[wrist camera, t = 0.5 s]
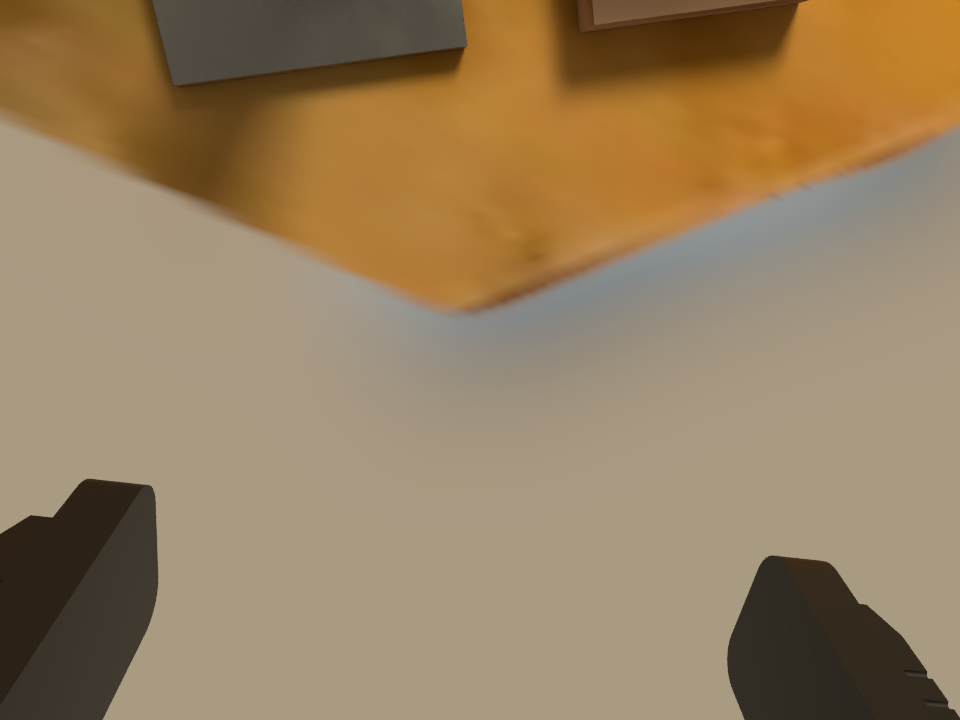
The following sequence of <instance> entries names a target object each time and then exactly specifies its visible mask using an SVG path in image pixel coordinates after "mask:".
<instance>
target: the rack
mask: <svg viewBox="0 0 960 720" xmlns="http://www.w3.org/2000/svg"><path fill="white" fill-rule="evenodd" d="M804 1H807V0H576V5H577V16H578V28H579V33H582V32H590V31H597V30H604V29H612V28H619V27H626V26H634V25H641V24H648V23H656V22H663V21H670V20H678V19H685V18H693V17H700V16H707V15H715V14H722V13H729V12H737V11H744V10H751V9H759V8H766V7H773V6H781V5H788V4H796V3H801V2H804Z"/></svg>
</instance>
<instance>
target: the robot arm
mask: <svg viewBox="0 0 960 720" xmlns="http://www.w3.org/2000/svg"><path fill="white" fill-rule="evenodd" d="M157 589H158V561H157V530H156V502H155V494H154V491H153V488H152V487H151V486H149V485H141V484H132V483H123V482H114V481H105V480H96V479H86V480H84V481H82V482H81V483H80V484H79V485H78V486H77V488H76V489H75V490H74V491H73V493H72V494H71V495H70V497H69V498H68V499H67V500H66V502H65V503H64V504H63V505H62V507H61V508H60V509H59V510H58V512H57V513H56V514H55V515H54V517H53V518H51V517H41V516H32V515H30V516H29V517H27V518H26V519H24V520H22V521H21V522H19V523H18V524H16V525H15V526H13V527H11V528H9V529H8V530H6V531H4V532H3V533H1V534H0V720H102V719H103V718H104V716H105V714H106V711H107V710H108V707H109V705H110V703H111V701H112V699H113V697H114V695H115V693H116V691H117V689H118V687H119V685H120V683H121V681H122V679H123V677H124V675H125V673H126V671H127V669H128V667H129V665H130V663H131V661H132V659H133V657H134V655H135V653H136V651H137V649H138V647H139V645H140V643H141V641H142V639H143V637H144V635H145V633H146V631H147V628H148V626H149V623H150V620H151V617H152V613H153V610H154V606H155V602H156V596H157ZM727 661H728V674H729V679H730V683H731V687H732V689H733V692H734V694H735V697H736V699H737V702H738V704H739V707H740V709H741V712H742V714H743V716H744V719H745V720H960V717H959V716H958V715H957V713H956V712H955V710H953V709H949V707H948V700H947V699H946V698H945V696H944V695H943V693H942V692H941V690H940V689H939V688H938V686H937V685H936V683H935V682H934V681H933V679H928V678H927V671H926V669H925V668H924V666H923V665H922V664H921V662H920V661H919V659H918V658H917V657H916V655H915V654H914V652H913V651H912V650H911V648H910V647H909V645H908V644H907V642H906V641H905V640H904V638H903V637H902V636H901V635H900V634H899V633H898V632H897V631H895V630H894V629H893V628H892V627H891V626H890V625H889V624H888V623H887V622H885V621H884V620H883V619H882V618H881V617H880V616H878V615H877V614H876V613H875V612H874V611H873V610H872V609H871V608H869V607H868V606H867V605H864V604H859V603H858V602H857V600H856V599H855V597H854V596H853V594H852V593H851V591H850V590H849V588H848V587H847V585H846V584H845V582H844V581H843V580H842V578H841V576H840V575H839V574H838V572H837V571H836V569H835V568H834V567H833V566H832V565H831V564H829V563H828V562H824V561H818V560H808V559H799V558H790V557H781V556H769V557H767V558H766V559H765V560H763V562H762V563H761V564H760V566H759V569H758V571H757V574H756V576H755V578H754V581H753V583H752V586H751V588H750V591H749V593H748V596H747V598H746V601H745V603H744V605H743V608H742V610H741V613H740V615H739V618H738V620H737V623H736V625H735V628H734V630H733V633H732V635H731V638H730V642H729V646H728V657H727Z"/></svg>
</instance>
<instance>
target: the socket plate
mask: <svg viewBox="0 0 960 720" xmlns="http://www.w3.org/2000/svg"><path fill="white" fill-rule="evenodd" d="M152 2H153V6H154V10H155V14H156V18H157V22H158V26H159V30H160V34H161V38H162V42H163V46H164V50H165V54H166V58H167V63H168V67H169V71H170V75H171V79H172V83H173V86H177V87H185V86H192V85H200V84H207V83H214V82H222V81H229V80H236V79H244V78H251V77H259V76H266V75H273V74H281V73H288V72H295V71H303V70H310V69H317V68H325V67H332V66H339V65H347V64H354V63H362V62H369V61H376V60H384V59H391V58H398V57H406V56H413V55H420V54H428V53H435V52H442V51H450V50H457V49H464V48H466V47H467V40H466V32H465V25H464V17H463V10H462V2H461V0H152Z"/></svg>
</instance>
